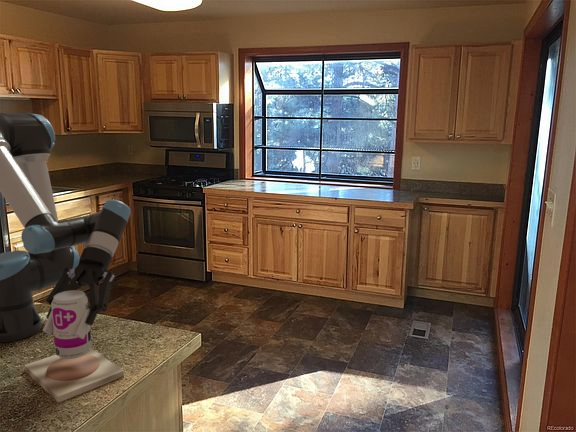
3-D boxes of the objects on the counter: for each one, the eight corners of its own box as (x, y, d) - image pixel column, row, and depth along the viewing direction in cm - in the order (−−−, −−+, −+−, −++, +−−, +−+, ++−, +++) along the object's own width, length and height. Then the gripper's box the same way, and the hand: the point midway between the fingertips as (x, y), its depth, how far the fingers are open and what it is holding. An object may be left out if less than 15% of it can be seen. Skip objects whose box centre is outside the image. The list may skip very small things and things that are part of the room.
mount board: (24, 370, 121) (24, 362, 121) (86, 349, 133) (86, 342, 133) (58, 402, 108) (57, 394, 108) (123, 376, 120) (123, 368, 119)
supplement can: (78, 362, 115) (74, 302, 112) (48, 358, 116) (42, 299, 113) (98, 346, 122) (94, 291, 119) (69, 343, 124) (65, 288, 121)
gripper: (140, 262, 128) (109, 345, 116) (70, 256, 132) (34, 335, 120) (128, 248, 122) (95, 334, 110) (56, 242, 126) (15, 324, 114)
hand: (63, 334), depth 115 cm, fingers closed on supplement can, 8 cm apart
